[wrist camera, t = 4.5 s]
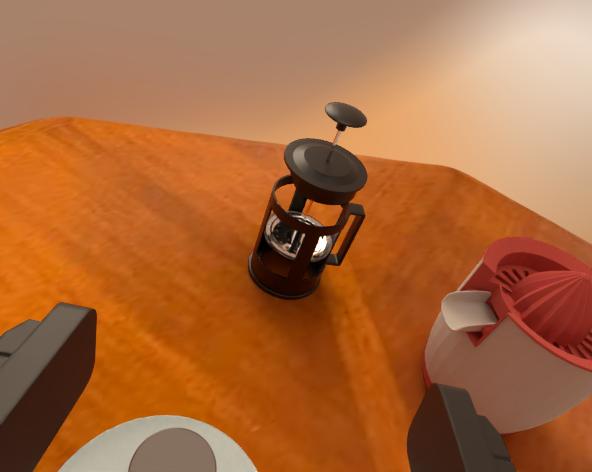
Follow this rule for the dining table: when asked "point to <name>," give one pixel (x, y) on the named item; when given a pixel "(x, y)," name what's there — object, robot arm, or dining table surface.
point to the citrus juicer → (517, 335)
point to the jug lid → (160, 448)
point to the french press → (301, 227)
